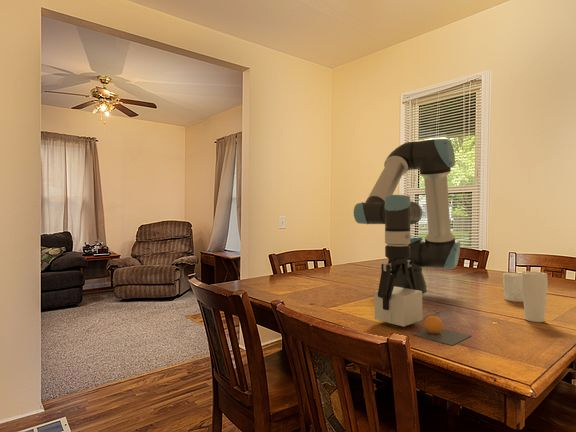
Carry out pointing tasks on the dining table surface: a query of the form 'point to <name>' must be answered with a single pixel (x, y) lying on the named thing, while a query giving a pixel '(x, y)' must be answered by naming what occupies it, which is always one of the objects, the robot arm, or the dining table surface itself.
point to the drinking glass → (534, 295)
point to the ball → (433, 325)
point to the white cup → (513, 287)
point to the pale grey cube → (401, 306)
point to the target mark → (444, 336)
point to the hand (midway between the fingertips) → (398, 316)
